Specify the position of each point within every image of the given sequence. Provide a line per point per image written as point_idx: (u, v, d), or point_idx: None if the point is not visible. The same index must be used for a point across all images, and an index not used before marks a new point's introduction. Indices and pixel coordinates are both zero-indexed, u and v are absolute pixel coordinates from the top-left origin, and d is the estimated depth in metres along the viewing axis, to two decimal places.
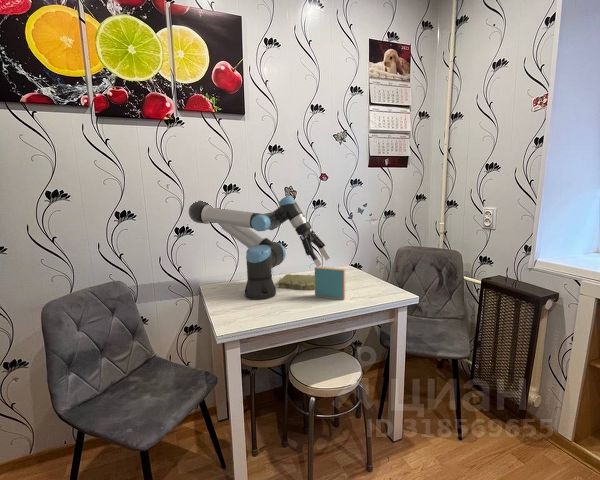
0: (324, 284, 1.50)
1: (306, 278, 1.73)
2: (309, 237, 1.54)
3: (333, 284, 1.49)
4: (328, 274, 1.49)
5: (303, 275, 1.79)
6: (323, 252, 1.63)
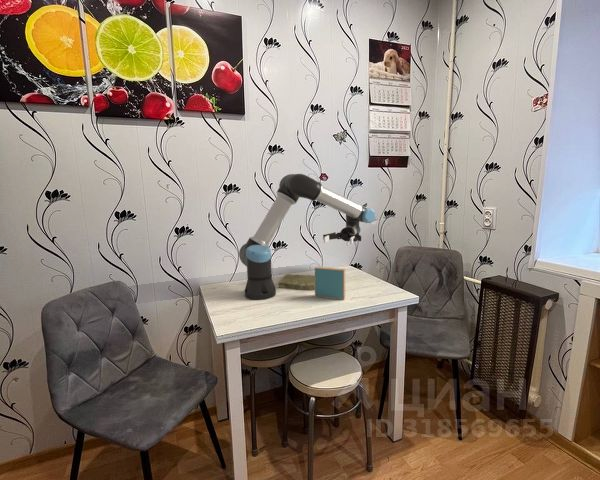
0: (324, 284, 1.50)
1: (306, 278, 1.73)
2: (350, 238, 1.71)
3: (333, 284, 1.49)
4: (328, 274, 1.49)
5: (303, 275, 1.79)
6: (327, 238, 1.66)
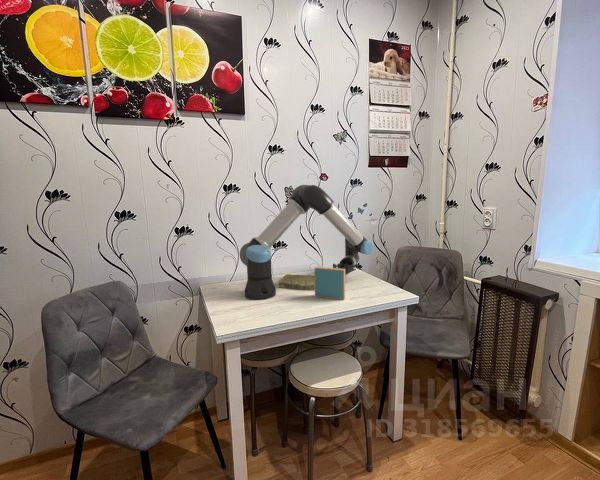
0: (324, 284, 1.50)
1: (306, 278, 1.73)
2: None
3: (333, 284, 1.49)
4: (328, 274, 1.49)
5: (303, 275, 1.79)
6: None
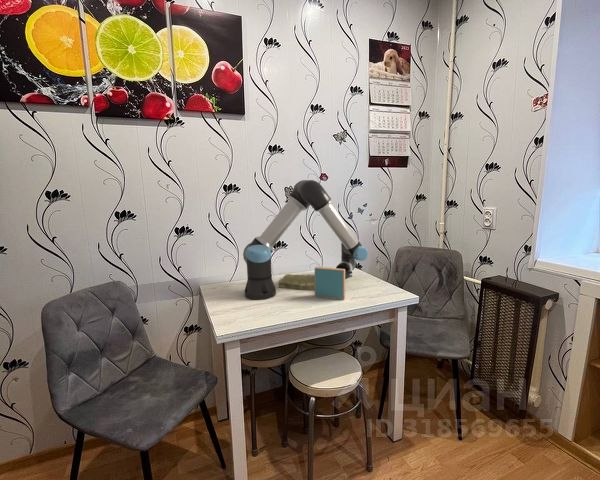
0: (324, 284, 1.50)
1: (306, 278, 1.73)
2: None
3: (333, 284, 1.48)
4: (328, 274, 1.49)
5: (303, 275, 1.79)
6: None
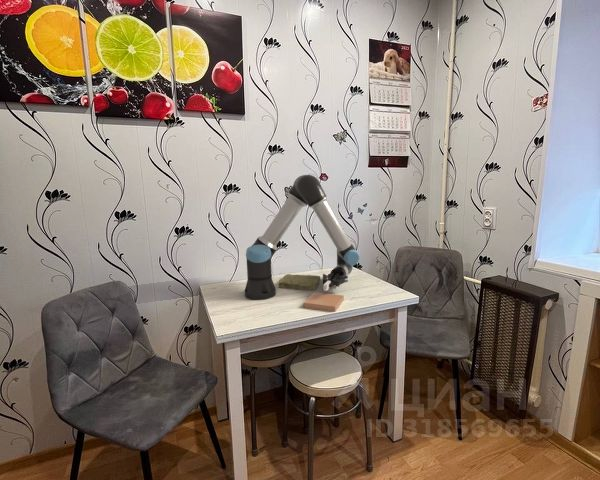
0: None
1: (306, 278, 1.73)
2: None
3: None
4: None
5: (303, 275, 1.79)
6: None
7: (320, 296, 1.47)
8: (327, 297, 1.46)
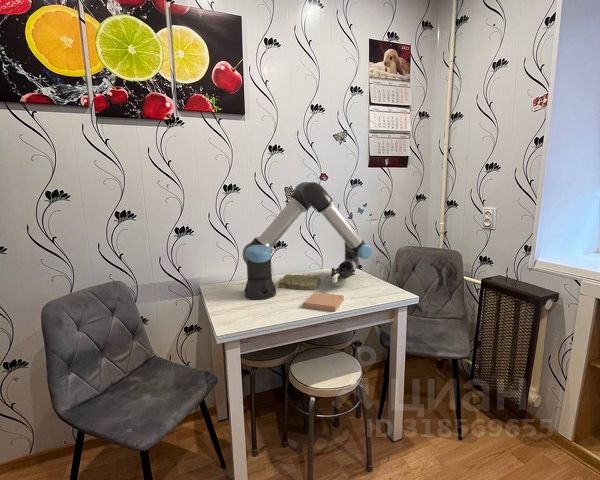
0: None
1: (306, 278, 1.73)
2: None
3: None
4: None
5: (303, 275, 1.79)
6: None
7: (320, 296, 1.47)
8: (327, 297, 1.46)
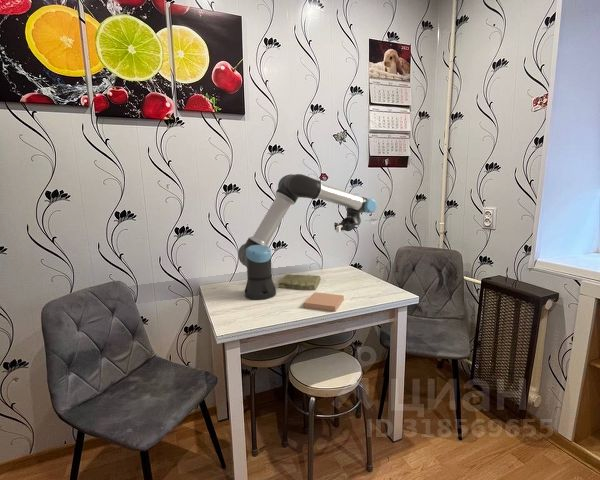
0: None
1: (306, 278, 1.73)
2: None
3: None
4: None
5: (303, 275, 1.79)
6: None
7: (320, 296, 1.47)
8: (327, 297, 1.46)
